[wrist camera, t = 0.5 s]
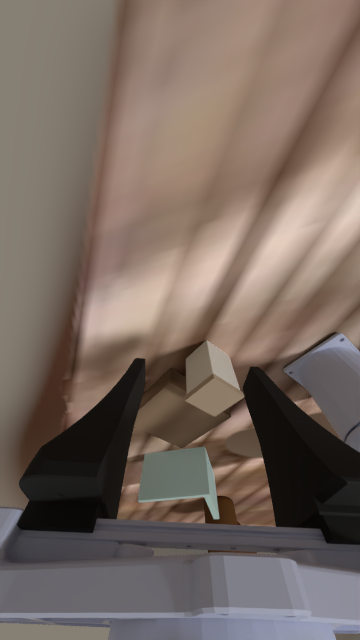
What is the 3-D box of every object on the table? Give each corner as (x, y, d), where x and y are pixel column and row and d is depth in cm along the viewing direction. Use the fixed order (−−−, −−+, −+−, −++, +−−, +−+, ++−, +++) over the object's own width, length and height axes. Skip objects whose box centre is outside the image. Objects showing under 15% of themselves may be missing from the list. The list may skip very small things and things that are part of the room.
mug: (253, 499, 49) (268, 557, 41) (241, 509, 53) (252, 564, 44) (209, 493, 47) (215, 553, 39) (199, 504, 51) (203, 560, 43)
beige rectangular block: (230, 355, 25) (244, 397, 19) (207, 374, 26) (214, 416, 21) (206, 338, 23) (214, 378, 18) (184, 359, 25) (184, 400, 20)
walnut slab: (226, 398, 30) (231, 416, 27) (182, 430, 34) (182, 448, 32) (171, 365, 26) (169, 382, 24) (129, 404, 31) (124, 422, 28)
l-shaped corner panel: (145, 450, 38) (137, 500, 32) (204, 443, 37) (209, 494, 30) (161, 476, 44) (158, 523, 37) (213, 471, 43) (219, 519, 36)
